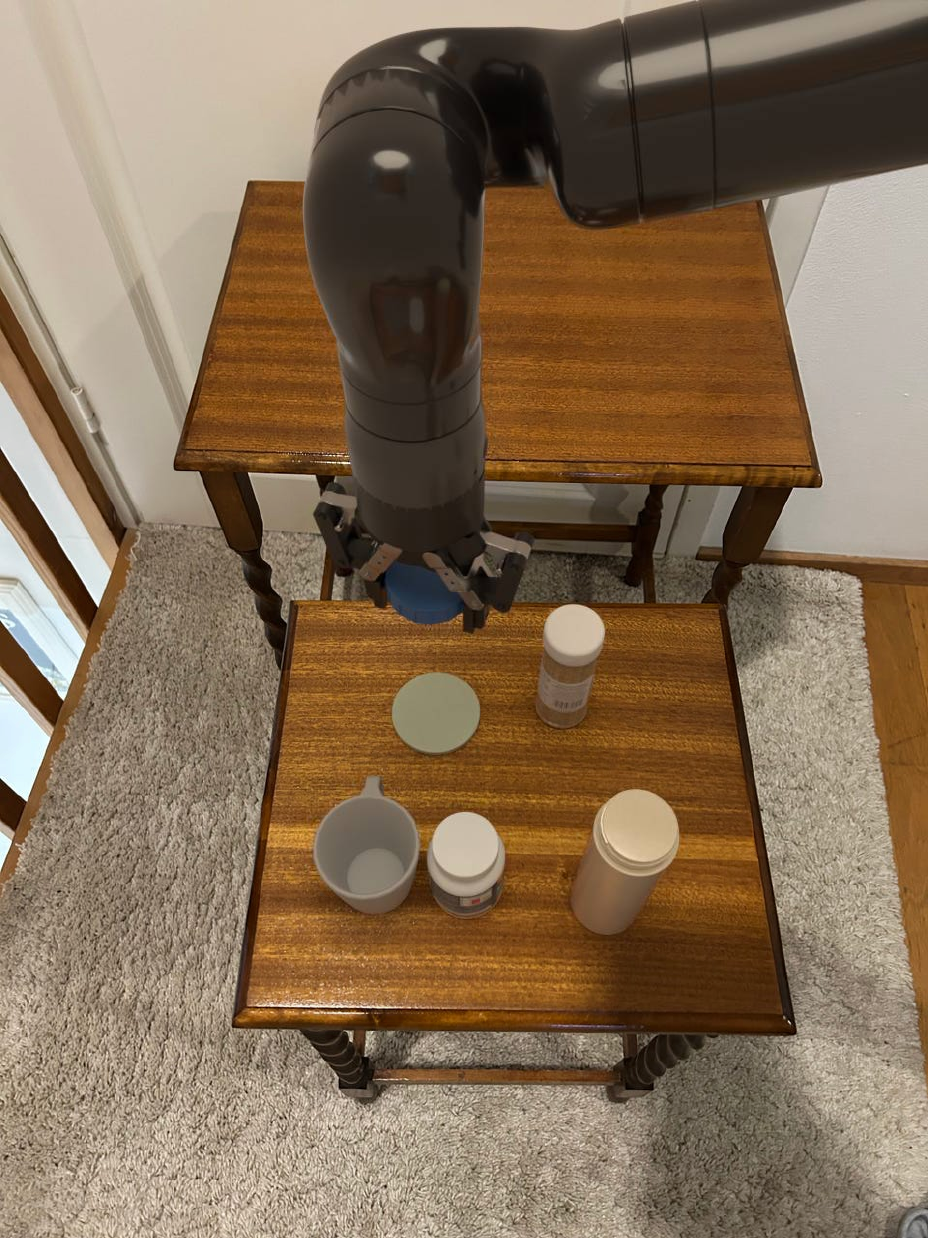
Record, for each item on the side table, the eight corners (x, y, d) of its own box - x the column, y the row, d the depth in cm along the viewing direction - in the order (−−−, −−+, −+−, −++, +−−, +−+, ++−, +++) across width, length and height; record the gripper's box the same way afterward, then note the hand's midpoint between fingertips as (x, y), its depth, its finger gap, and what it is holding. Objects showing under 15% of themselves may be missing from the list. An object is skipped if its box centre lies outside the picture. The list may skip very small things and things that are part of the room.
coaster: (491, 689, 82) (491, 685, 81) (464, 766, 78) (464, 763, 78) (409, 665, 83) (409, 662, 83) (379, 740, 79) (378, 737, 79)
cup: (323, 927, 71) (307, 898, 64) (334, 802, 77) (320, 762, 69) (423, 928, 71) (418, 900, 64) (427, 803, 76) (423, 763, 69)
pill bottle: (514, 903, 72) (520, 866, 64) (445, 932, 71) (442, 898, 63) (486, 837, 75) (488, 792, 66) (419, 863, 74) (412, 821, 65)
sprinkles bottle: (591, 690, 82) (611, 609, 70) (580, 736, 79) (599, 661, 68) (540, 678, 82) (551, 596, 71) (528, 723, 80) (538, 646, 69)
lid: (368, 579, 65) (367, 564, 63) (438, 538, 67) (438, 522, 65) (420, 641, 62) (420, 626, 61) (490, 596, 64) (492, 581, 63)
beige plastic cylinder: (622, 855, 74) (661, 772, 59) (651, 921, 71) (700, 851, 56) (559, 878, 73) (582, 799, 58) (586, 945, 71) (618, 881, 56)
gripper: (269, 469, 51) (313, 626, 65) (523, 535, 48) (511, 683, 63) (322, 374, 54) (353, 543, 69) (561, 431, 52) (541, 594, 67)
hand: (428, 609), depth 66 cm, fingers closed on lid, 6 cm apart
